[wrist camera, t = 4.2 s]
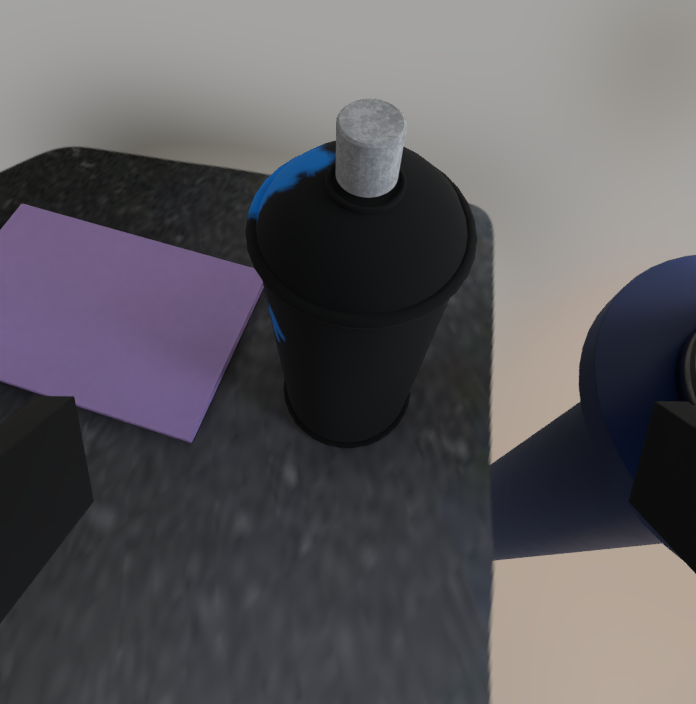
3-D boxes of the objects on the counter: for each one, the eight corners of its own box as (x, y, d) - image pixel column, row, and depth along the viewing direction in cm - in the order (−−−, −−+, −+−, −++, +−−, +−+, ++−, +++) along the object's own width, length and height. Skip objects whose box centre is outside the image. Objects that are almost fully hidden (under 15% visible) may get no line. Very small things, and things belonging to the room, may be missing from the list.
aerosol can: (429, 365, 32) (561, 89, 14) (373, 473, 29) (448, 295, 11) (324, 312, 33) (319, 0, 15) (259, 408, 30) (154, 156, 12)
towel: (268, 276, 34) (267, 272, 34) (191, 443, 29) (189, 441, 28) (26, 208, 36) (21, 203, 36) (-90, 352, 31) (-97, 349, 30)
